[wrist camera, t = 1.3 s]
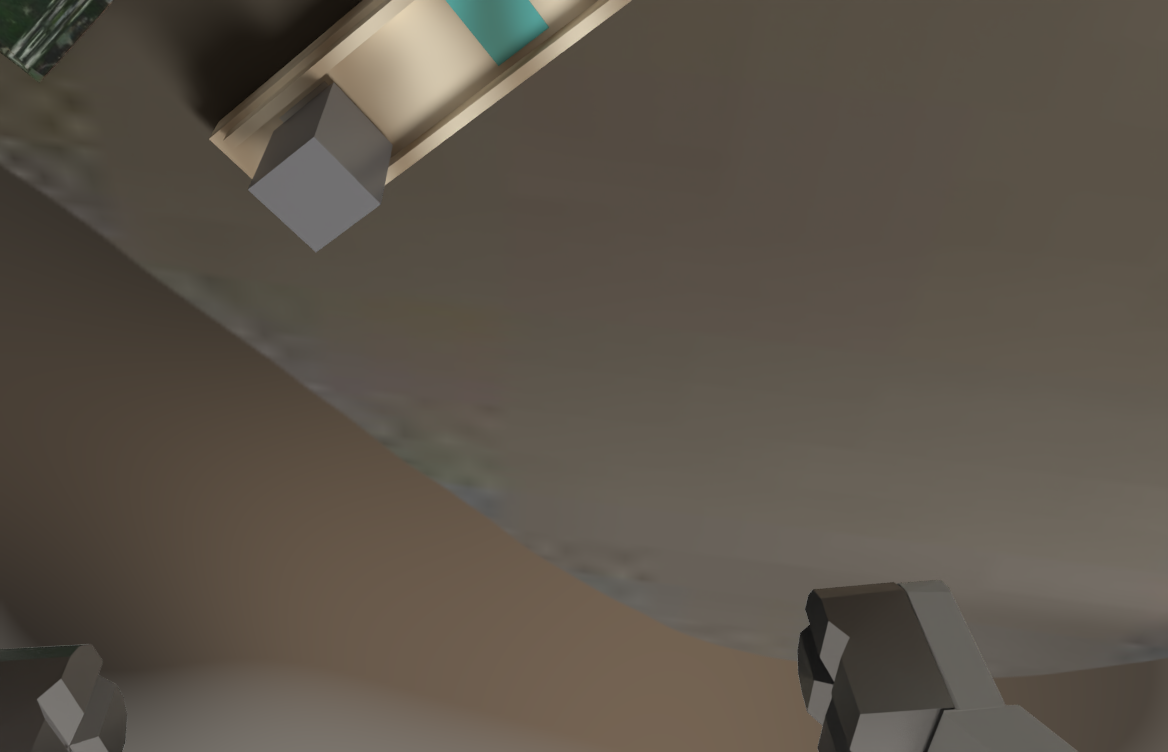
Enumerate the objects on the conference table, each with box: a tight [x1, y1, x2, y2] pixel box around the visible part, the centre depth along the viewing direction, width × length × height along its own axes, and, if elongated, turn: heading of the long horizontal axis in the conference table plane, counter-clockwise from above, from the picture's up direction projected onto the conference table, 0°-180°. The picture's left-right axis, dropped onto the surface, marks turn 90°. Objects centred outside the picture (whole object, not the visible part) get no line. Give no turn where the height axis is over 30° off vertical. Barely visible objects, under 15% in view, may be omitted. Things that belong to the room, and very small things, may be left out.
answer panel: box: [209, 0, 631, 185], centre depth 43 cm, size 30×7×3 cm, turn 126°
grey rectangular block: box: [248, 82, 393, 252], centre depth 43 cm, size 4×4×6 cm
